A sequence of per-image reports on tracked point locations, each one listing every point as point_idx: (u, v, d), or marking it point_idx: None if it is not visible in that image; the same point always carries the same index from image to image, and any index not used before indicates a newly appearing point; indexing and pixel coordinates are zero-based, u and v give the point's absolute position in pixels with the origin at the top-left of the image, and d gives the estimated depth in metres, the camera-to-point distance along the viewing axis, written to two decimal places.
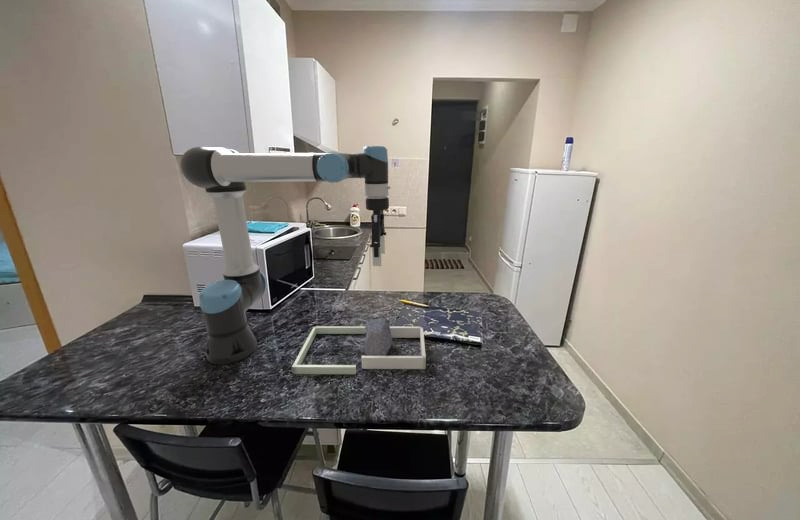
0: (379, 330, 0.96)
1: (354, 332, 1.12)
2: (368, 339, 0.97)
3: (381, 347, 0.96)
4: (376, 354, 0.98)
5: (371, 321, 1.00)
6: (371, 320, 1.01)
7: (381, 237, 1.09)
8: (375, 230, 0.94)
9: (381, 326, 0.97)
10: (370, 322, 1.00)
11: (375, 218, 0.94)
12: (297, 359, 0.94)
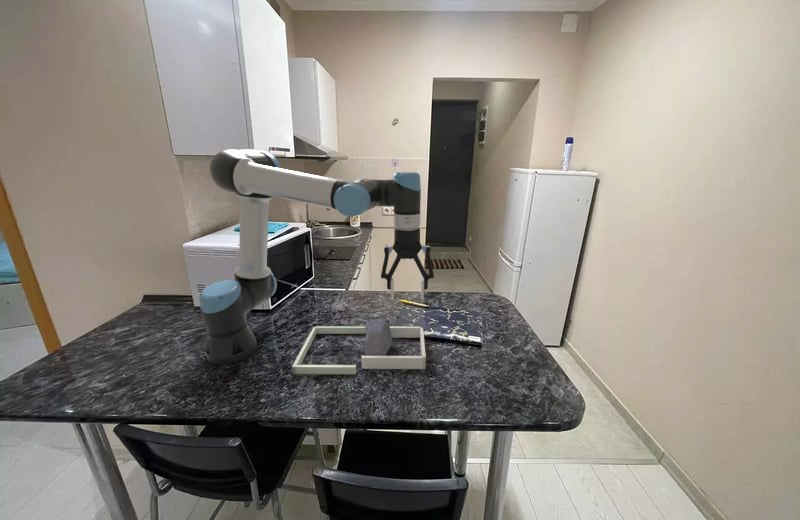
0: (379, 330, 0.96)
1: (354, 332, 1.12)
2: (368, 339, 0.97)
3: (381, 347, 0.96)
4: (376, 354, 0.98)
5: (371, 321, 1.00)
6: (371, 320, 1.01)
7: (421, 280, 0.93)
8: None
9: (381, 326, 0.97)
10: (370, 322, 1.00)
11: None
12: (297, 359, 0.94)
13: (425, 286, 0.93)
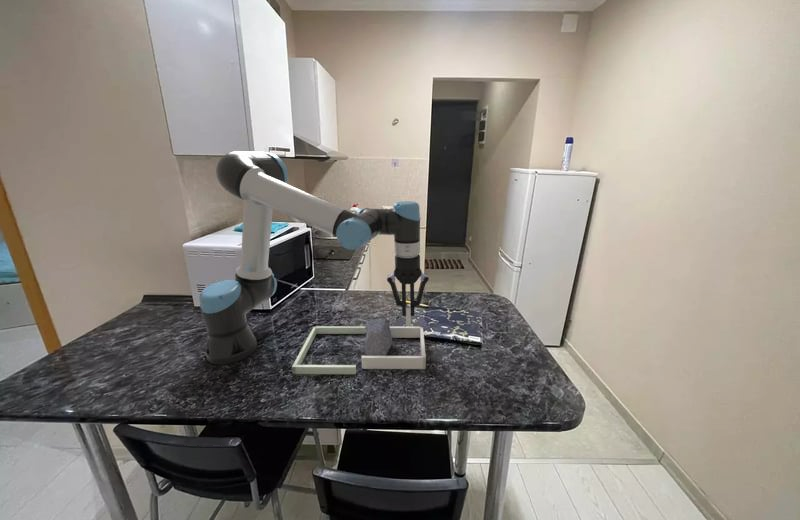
0: (379, 330, 0.96)
1: (354, 332, 1.12)
2: (368, 339, 0.97)
3: (381, 347, 0.96)
4: (376, 354, 0.98)
5: (371, 321, 1.00)
6: (371, 320, 1.01)
7: None
8: None
9: (381, 326, 0.97)
10: (370, 322, 1.00)
11: None
12: (297, 359, 0.94)
13: (412, 313, 0.96)
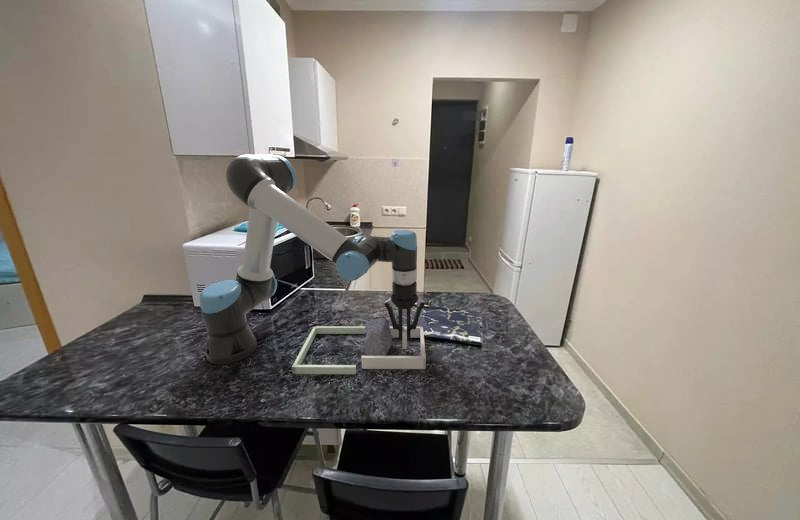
0: (379, 330, 0.96)
1: (354, 332, 1.12)
2: (368, 339, 0.97)
3: (381, 347, 0.96)
4: (376, 354, 0.98)
5: (371, 321, 1.00)
6: (371, 320, 1.01)
7: None
8: None
9: (381, 326, 0.97)
10: (370, 322, 1.00)
11: None
12: (297, 359, 0.94)
13: (408, 336, 0.99)
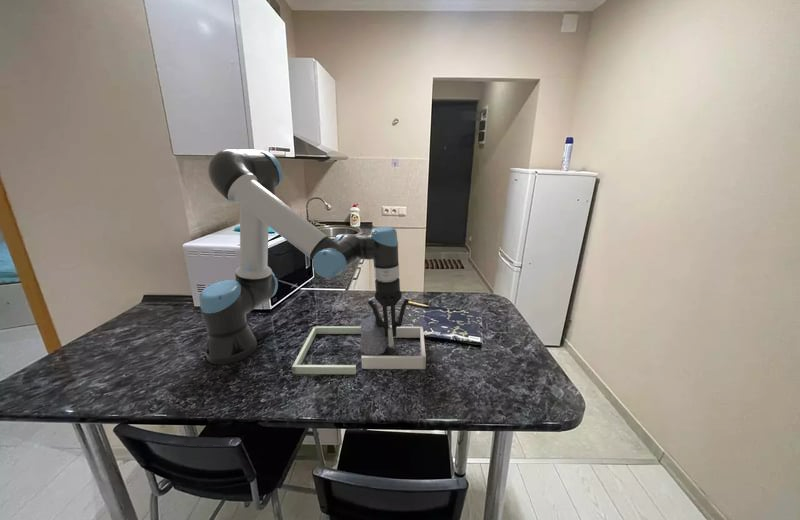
0: (370, 327, 0.95)
1: (354, 332, 1.12)
2: (362, 339, 0.97)
3: (377, 343, 0.96)
4: (374, 352, 0.97)
5: (363, 320, 1.00)
6: (363, 319, 1.01)
7: None
8: None
9: (372, 323, 0.97)
10: (362, 322, 1.00)
11: None
12: (297, 359, 0.94)
13: (394, 334, 0.98)
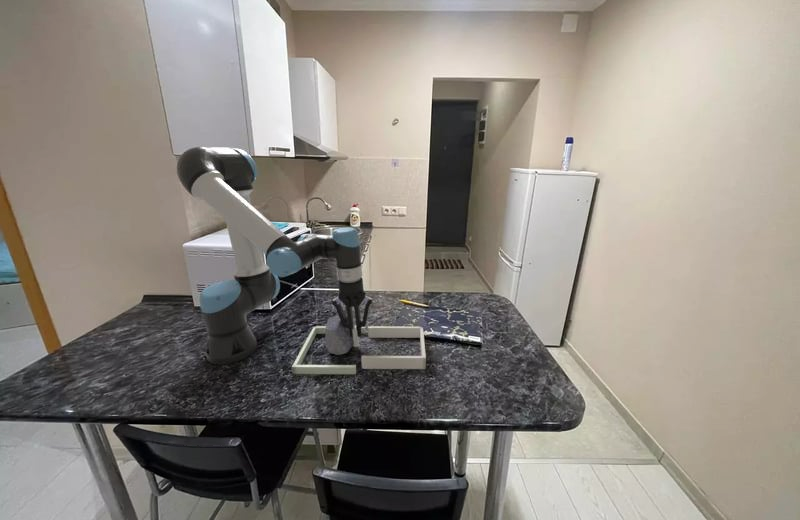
0: (334, 326, 0.96)
1: None
2: (326, 337, 0.97)
3: (340, 343, 0.97)
4: (338, 351, 0.98)
5: (329, 319, 1.01)
6: (329, 318, 1.02)
7: None
8: None
9: (336, 323, 0.97)
10: (328, 321, 1.01)
11: None
12: (297, 359, 0.94)
13: (358, 334, 0.99)
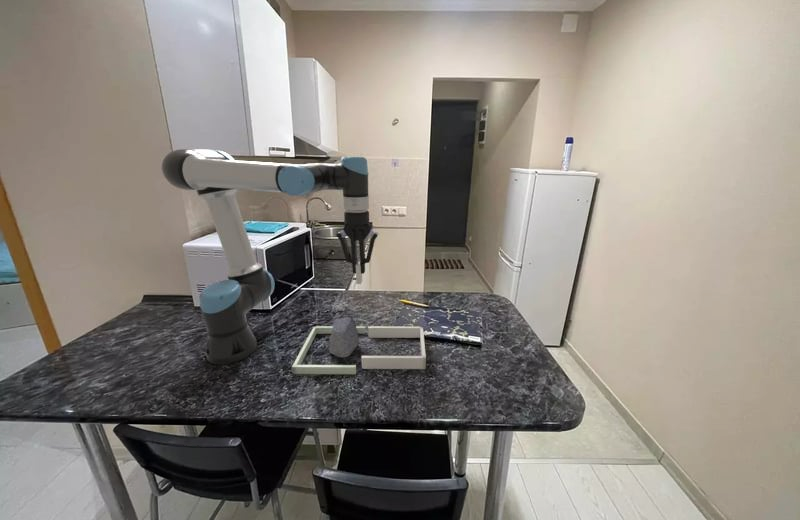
0: (342, 329, 0.96)
1: None
2: (331, 338, 0.97)
3: (344, 346, 0.97)
4: (339, 353, 0.98)
5: (337, 320, 1.01)
6: (337, 319, 1.02)
7: None
8: None
9: (345, 326, 0.97)
10: (335, 321, 1.01)
11: None
12: (297, 359, 0.94)
13: (362, 270, 0.98)
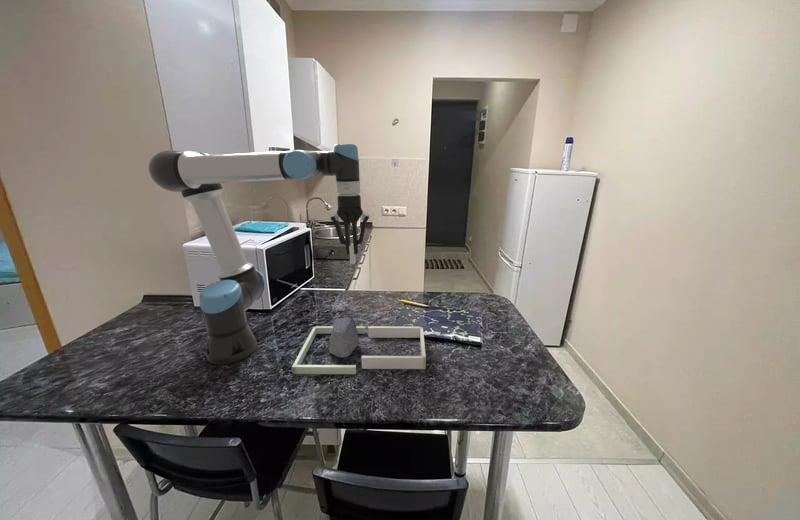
0: (342, 329, 0.96)
1: None
2: (331, 338, 0.97)
3: (344, 346, 0.97)
4: (339, 353, 0.98)
5: (337, 320, 1.01)
6: (337, 319, 1.02)
7: None
8: None
9: (345, 326, 0.97)
10: (335, 321, 1.01)
11: None
12: (297, 359, 0.94)
13: (355, 251, 1.05)
